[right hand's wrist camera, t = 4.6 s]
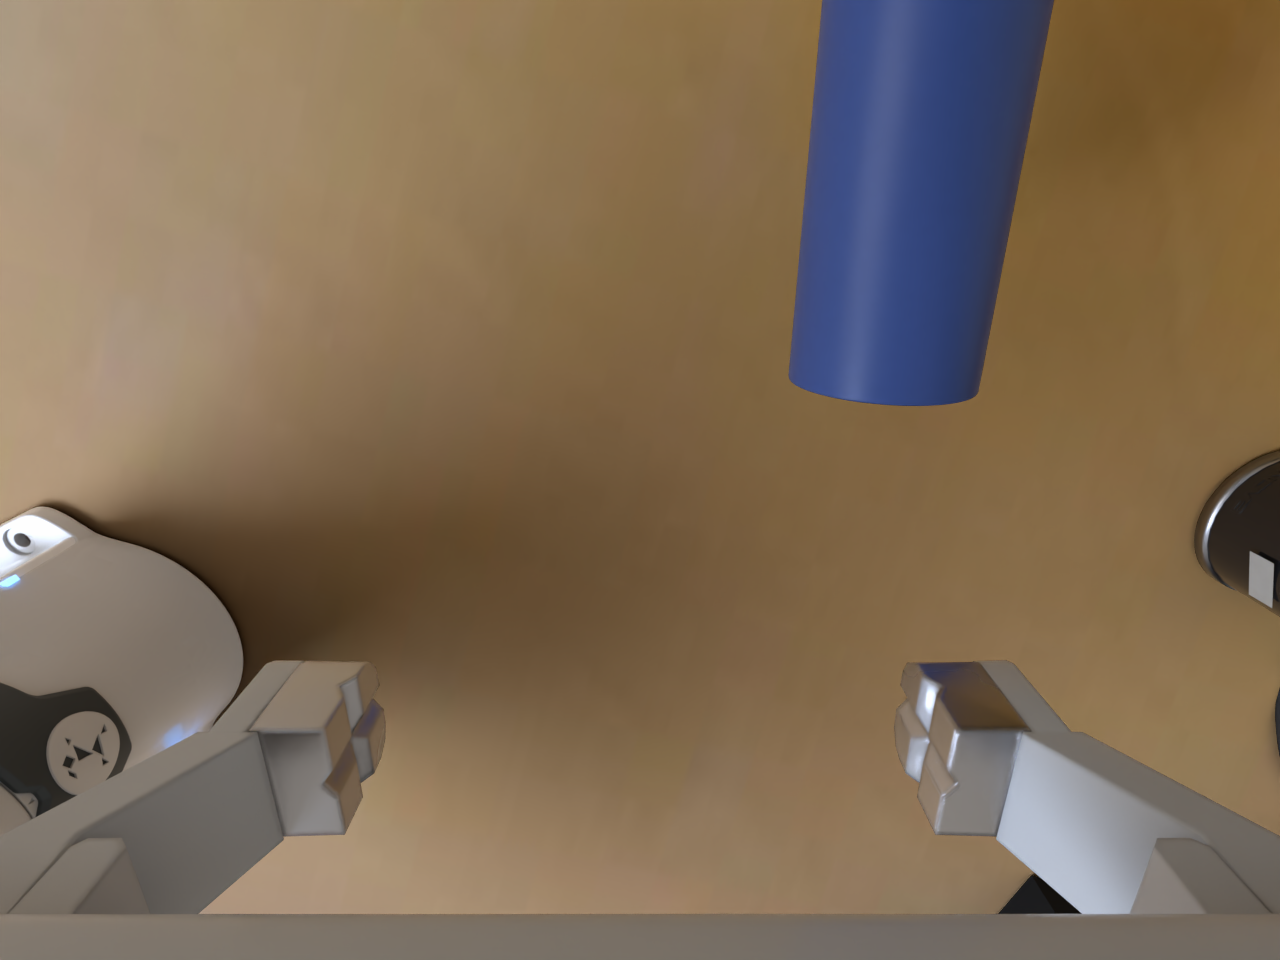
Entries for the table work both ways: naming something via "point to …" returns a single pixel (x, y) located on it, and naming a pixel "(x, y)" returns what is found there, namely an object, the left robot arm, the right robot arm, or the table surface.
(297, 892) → the table surface
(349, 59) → the table surface
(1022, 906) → the cardboard box
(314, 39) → the table surface
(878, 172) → the rod
